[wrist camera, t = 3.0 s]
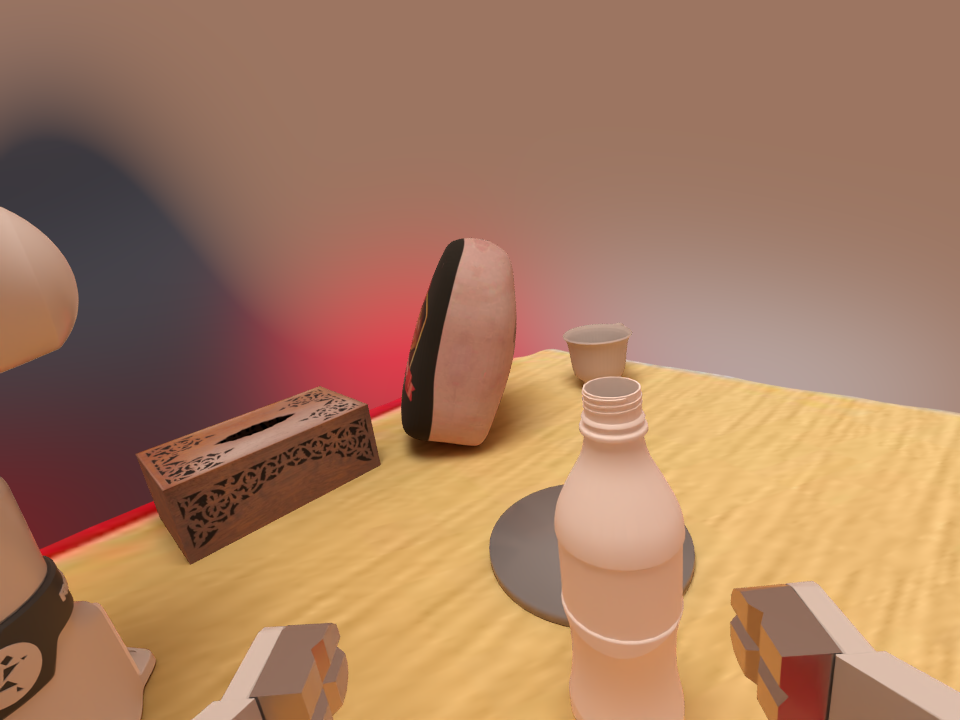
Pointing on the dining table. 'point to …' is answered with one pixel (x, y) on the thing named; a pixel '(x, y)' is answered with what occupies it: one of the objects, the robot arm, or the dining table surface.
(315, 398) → the tissue box cover
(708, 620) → the dining table surface
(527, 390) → the dining table surface
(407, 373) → the packaged food
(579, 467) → the water bottle
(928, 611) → the dining table surface
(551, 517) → the plate
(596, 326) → the teacup
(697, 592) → the dining table surface
